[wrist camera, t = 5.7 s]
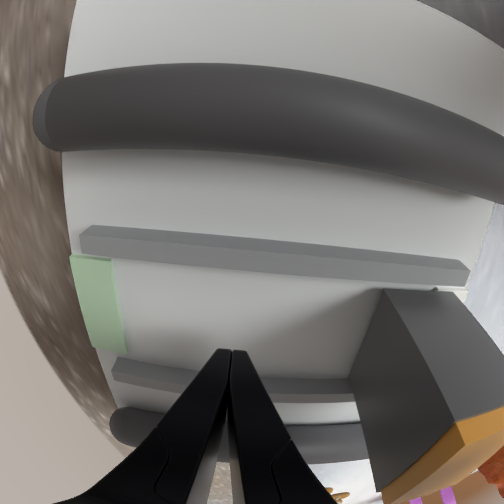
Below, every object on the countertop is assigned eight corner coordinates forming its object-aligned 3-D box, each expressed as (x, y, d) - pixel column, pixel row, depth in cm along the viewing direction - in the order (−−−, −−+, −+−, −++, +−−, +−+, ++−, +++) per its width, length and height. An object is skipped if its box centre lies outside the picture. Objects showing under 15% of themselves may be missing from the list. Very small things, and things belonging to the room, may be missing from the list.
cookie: (336, 489, 21) (359, 502, 24) (335, 481, 21) (358, 497, 25) (262, 503, 23) (298, 516, 26) (262, 496, 23) (298, 511, 27)
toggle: (452, 291, 8) (538, 409, 3) (412, 372, 10) (457, 484, 5) (383, 288, 8) (464, 443, 3) (348, 375, 10) (379, 508, 5)
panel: (478, 57, 7) (548, 52, 3) (354, 433, 16) (364, 483, 13) (108, 1, 6) (45, -34, 3) (142, 420, 16) (127, 470, 12)
